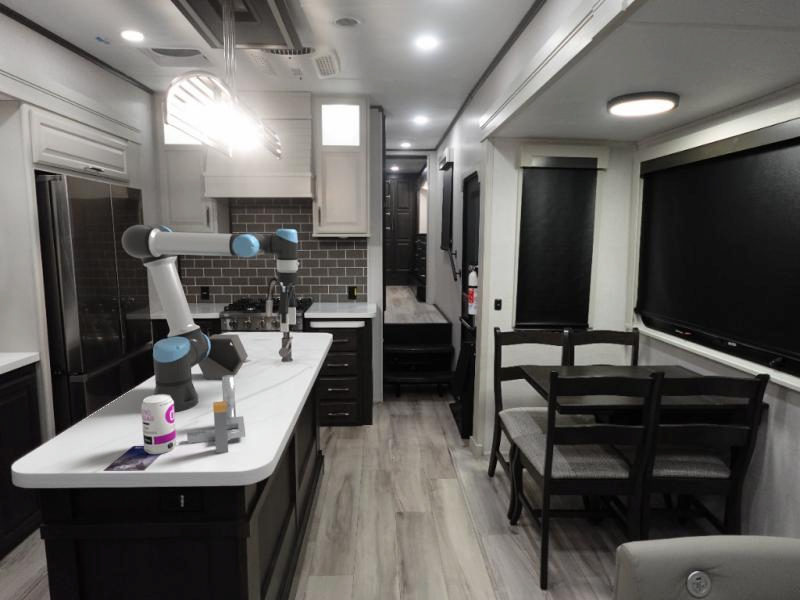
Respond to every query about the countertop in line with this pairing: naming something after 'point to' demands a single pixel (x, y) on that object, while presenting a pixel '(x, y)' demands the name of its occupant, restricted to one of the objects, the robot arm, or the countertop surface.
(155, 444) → the supplement can
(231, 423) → the grey piece
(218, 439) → the orange-tipped square rod
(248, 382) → the countertop surface
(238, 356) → the planter
